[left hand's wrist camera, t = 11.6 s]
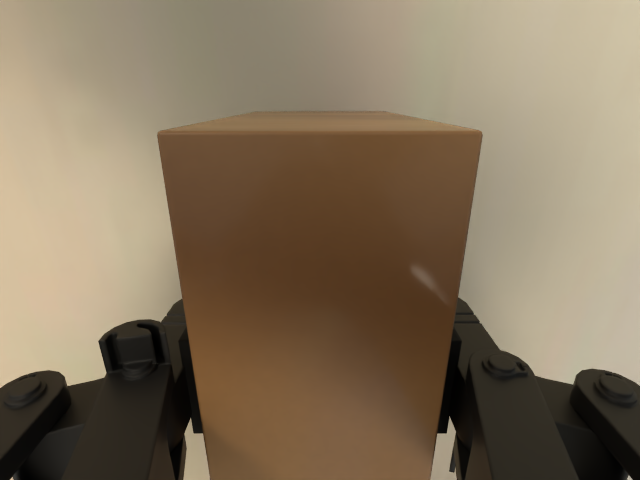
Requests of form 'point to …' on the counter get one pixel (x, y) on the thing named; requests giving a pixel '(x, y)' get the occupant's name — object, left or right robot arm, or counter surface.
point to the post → (320, 286)
